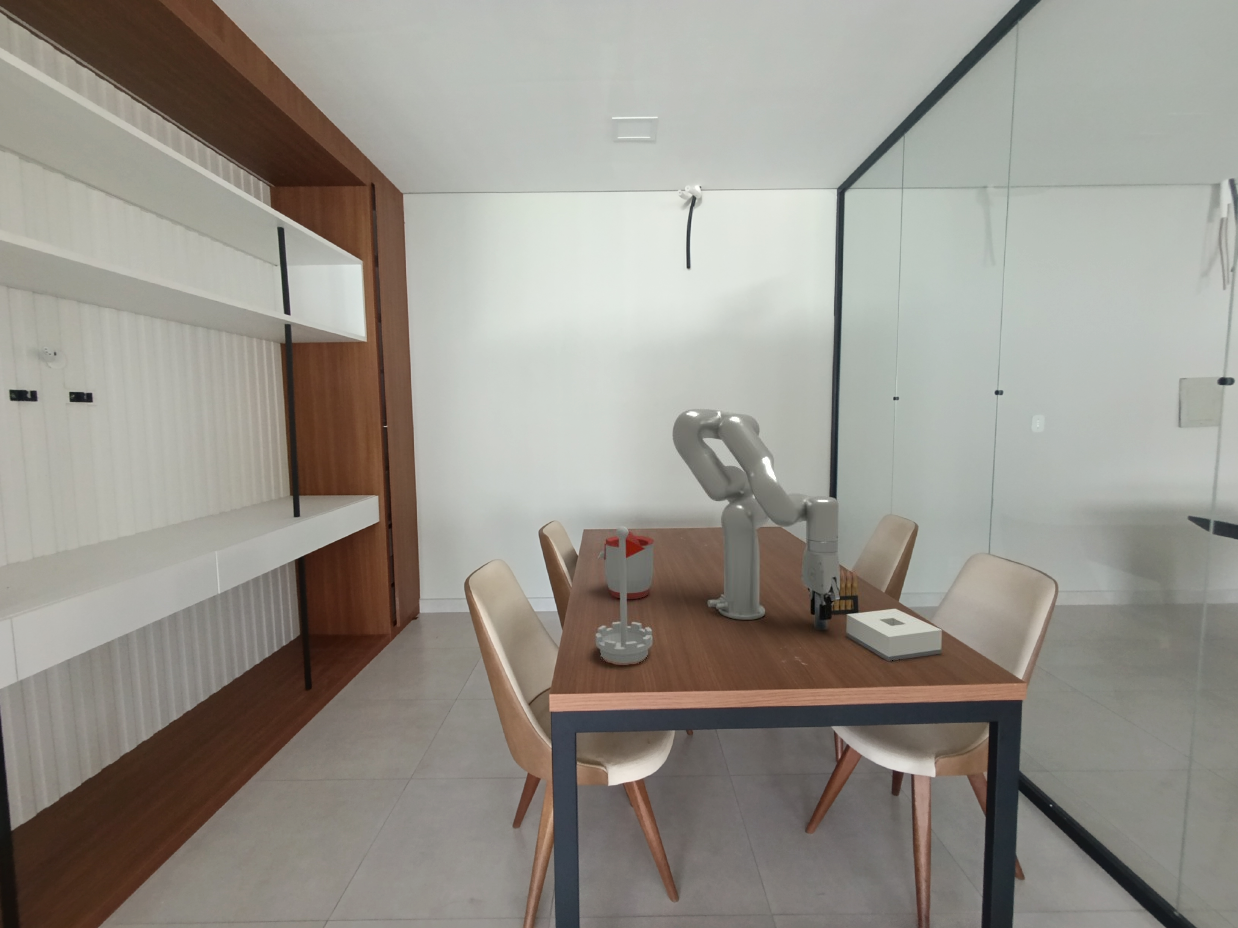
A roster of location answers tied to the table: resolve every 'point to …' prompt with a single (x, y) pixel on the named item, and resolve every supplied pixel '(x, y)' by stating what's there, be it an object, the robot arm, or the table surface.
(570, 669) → the table surface
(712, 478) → the robot arm
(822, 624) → the pin
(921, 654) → the socket block
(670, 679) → the table surface
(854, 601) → the ammunition clip
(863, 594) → the table surface
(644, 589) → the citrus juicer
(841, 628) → the table surface
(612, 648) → the flag stand
